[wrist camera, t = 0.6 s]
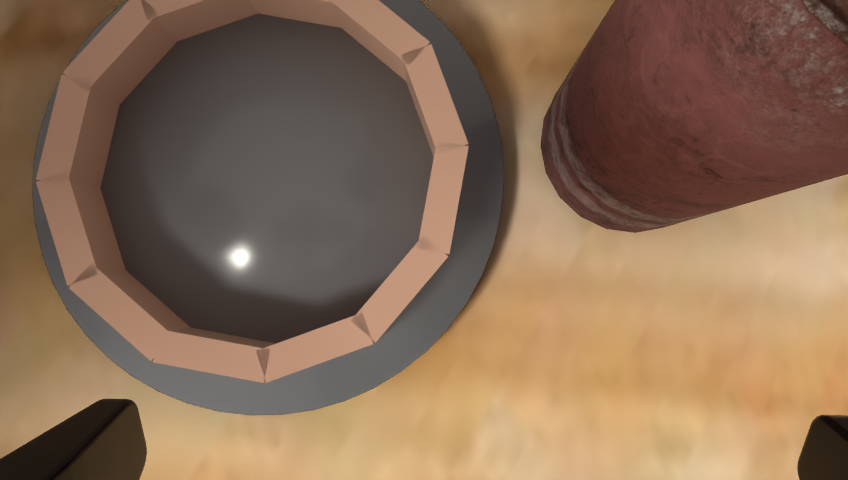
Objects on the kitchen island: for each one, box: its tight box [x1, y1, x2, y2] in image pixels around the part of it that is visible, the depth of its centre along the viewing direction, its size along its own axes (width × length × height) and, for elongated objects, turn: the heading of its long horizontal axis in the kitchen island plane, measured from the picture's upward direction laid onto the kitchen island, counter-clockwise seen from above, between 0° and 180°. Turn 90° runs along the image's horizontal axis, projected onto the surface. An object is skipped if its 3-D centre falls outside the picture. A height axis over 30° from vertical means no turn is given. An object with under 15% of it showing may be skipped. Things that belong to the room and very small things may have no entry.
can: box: [541, 0, 848, 233], centre depth 14 cm, size 6×6×14 cm
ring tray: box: [32, 0, 504, 415], centre depth 20 cm, size 16×16×3 cm
